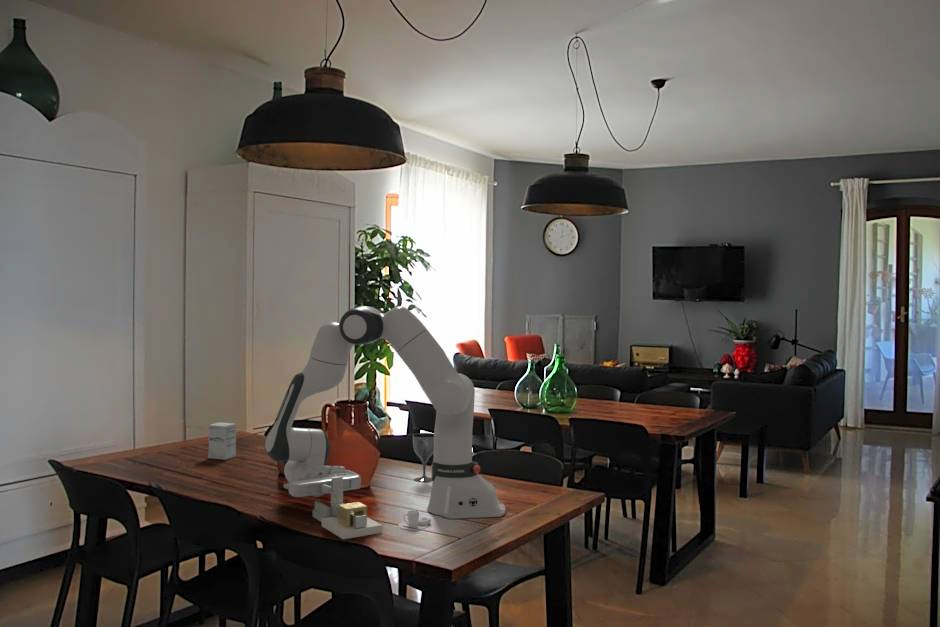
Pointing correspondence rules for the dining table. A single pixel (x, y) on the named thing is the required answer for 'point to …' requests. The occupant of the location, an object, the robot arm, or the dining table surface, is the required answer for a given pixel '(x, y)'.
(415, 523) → the teacup and saucer
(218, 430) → the supplement box
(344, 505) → the block
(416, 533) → the dining table surface
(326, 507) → the grey blocky piece
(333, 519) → the white base plate
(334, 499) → the grey l-shaped piece
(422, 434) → the wine glass
